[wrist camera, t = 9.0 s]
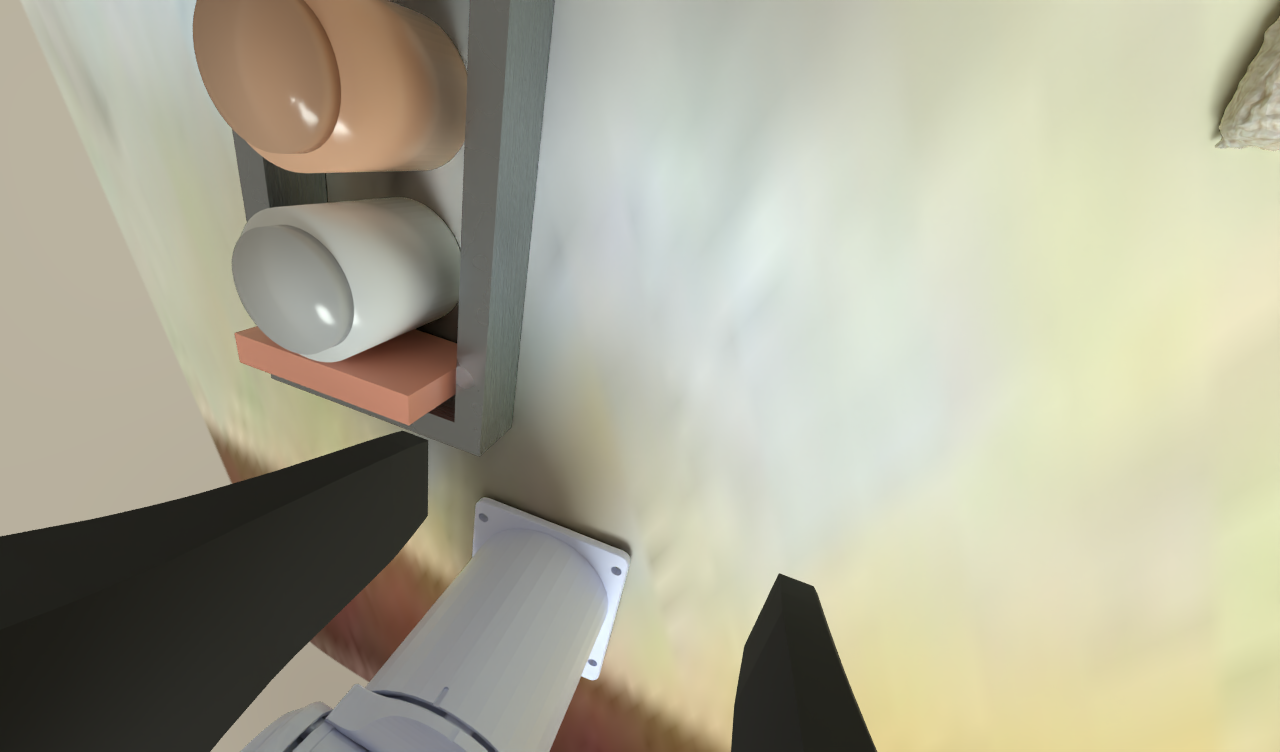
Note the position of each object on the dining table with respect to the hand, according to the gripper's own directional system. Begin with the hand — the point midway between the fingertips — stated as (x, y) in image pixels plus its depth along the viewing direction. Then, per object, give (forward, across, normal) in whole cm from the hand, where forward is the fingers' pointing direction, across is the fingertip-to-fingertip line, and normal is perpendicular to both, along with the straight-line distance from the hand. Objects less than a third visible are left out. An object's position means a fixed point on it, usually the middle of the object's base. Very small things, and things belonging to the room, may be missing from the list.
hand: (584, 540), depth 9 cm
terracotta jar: (+10, +12, -7) cm, 17 cm away
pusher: (+10, +12, +3) cm, 16 cm away
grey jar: (+10, +12, 0) cm, 16 cm away
